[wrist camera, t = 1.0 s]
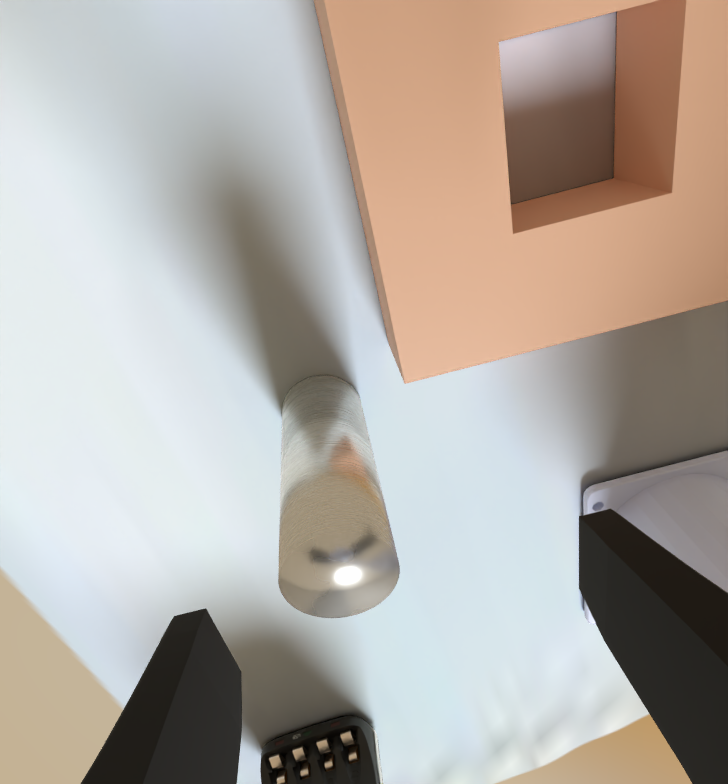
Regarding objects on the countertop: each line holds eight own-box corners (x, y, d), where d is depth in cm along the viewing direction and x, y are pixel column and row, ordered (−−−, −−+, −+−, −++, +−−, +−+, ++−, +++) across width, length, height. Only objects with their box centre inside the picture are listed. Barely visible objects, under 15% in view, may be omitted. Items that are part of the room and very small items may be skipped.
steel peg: (369, 432, 21) (409, 601, 14) (295, 451, 21) (297, 629, 14) (351, 366, 19) (387, 519, 12) (271, 387, 19) (261, 550, 12)
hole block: (712, 261, 19) (779, 287, 16) (389, 344, 19) (404, 383, 16) (769, -212, 13) (890, -288, 10) (294, -89, 13) (296, -135, 10)
